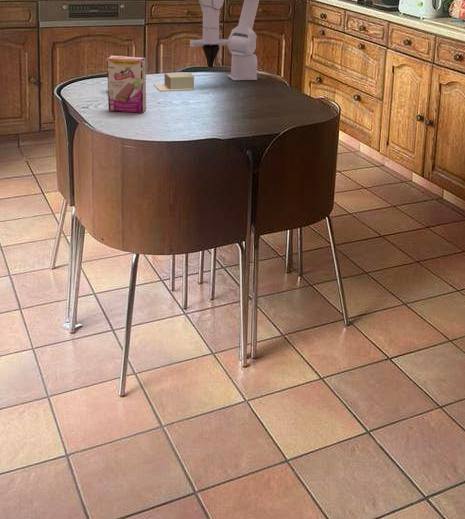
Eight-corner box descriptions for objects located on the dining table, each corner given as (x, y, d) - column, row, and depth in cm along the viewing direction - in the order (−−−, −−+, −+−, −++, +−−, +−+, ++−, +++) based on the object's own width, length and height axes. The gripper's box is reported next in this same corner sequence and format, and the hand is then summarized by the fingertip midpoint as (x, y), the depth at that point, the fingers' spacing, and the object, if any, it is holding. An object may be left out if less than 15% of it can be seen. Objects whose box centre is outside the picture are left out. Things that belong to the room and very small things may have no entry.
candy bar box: (108, 111, 227) (105, 58, 220) (112, 107, 232) (110, 55, 224) (143, 113, 226) (142, 60, 219) (146, 109, 231) (145, 57, 223)
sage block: (188, 72, 262) (164, 73, 259) (194, 76, 256) (168, 77, 253) (188, 83, 264) (164, 84, 261) (193, 88, 258) (169, 89, 255)
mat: (186, 83, 265) (186, 82, 265) (193, 90, 256) (193, 89, 256) (153, 84, 261) (153, 84, 261) (159, 91, 253) (159, 90, 253)
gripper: (193, 29, 248) (193, 69, 254) (234, 28, 252) (233, 68, 258) (188, 26, 254) (188, 65, 260) (228, 25, 258) (227, 64, 264)
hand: (210, 66), depth 260 cm, fingers closed
